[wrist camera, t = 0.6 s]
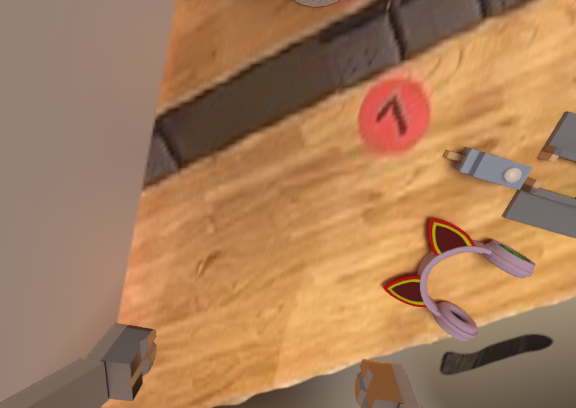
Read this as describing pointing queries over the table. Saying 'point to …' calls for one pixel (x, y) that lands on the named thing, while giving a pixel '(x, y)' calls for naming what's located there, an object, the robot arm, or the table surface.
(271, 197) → the table surface
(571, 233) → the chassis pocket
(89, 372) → the robot arm
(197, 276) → the table surface
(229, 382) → the table surface
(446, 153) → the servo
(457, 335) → the headphones
